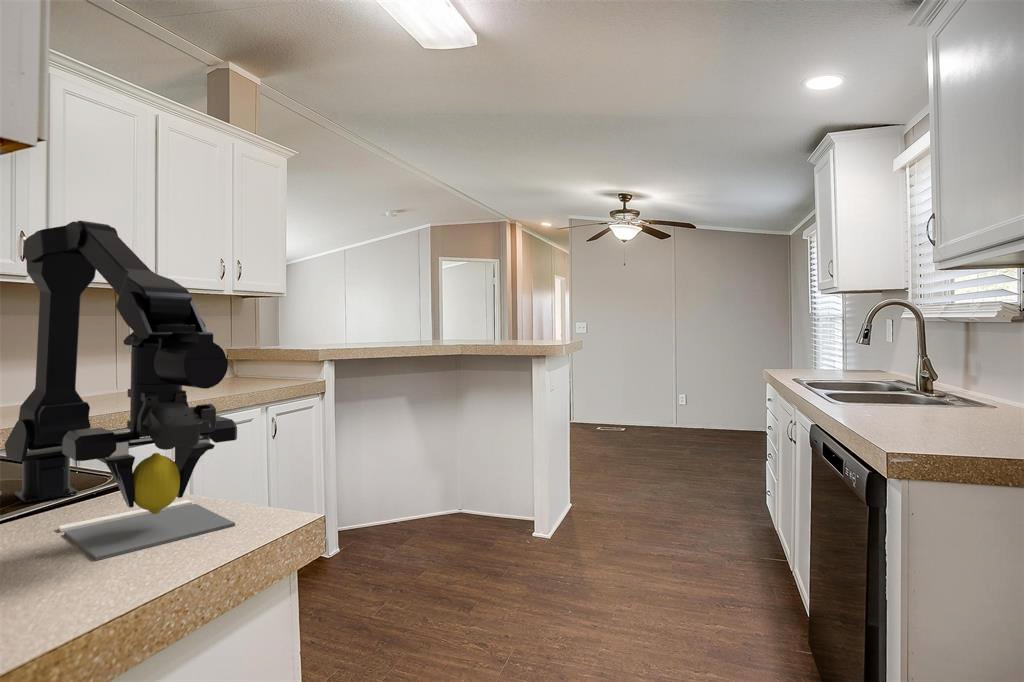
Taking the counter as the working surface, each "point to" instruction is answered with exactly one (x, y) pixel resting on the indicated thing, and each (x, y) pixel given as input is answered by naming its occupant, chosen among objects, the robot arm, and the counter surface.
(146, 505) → the lemon
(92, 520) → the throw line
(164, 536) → the mat
